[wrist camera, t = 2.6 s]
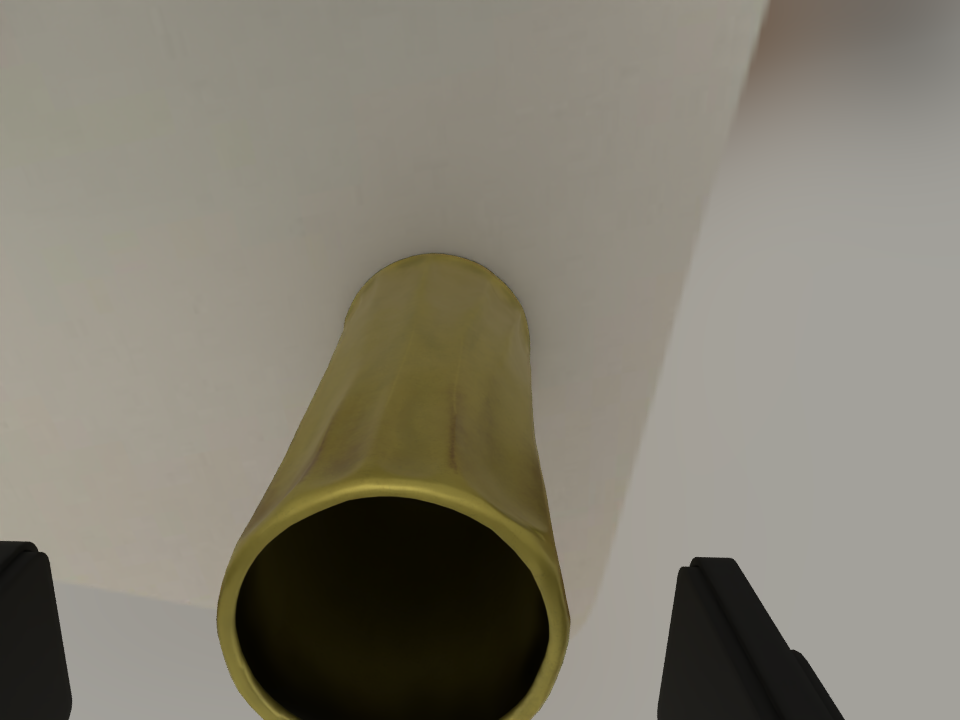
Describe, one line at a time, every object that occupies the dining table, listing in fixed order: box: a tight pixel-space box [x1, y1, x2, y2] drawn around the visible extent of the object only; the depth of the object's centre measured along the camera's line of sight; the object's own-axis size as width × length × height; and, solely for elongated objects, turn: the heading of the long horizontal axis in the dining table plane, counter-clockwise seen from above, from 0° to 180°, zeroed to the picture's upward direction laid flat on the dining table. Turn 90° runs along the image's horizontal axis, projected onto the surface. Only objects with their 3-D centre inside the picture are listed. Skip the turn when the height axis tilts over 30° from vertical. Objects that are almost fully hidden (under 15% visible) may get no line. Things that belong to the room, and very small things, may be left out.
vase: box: [216, 253, 570, 720], centre depth 17 cm, size 6×6×14 cm
